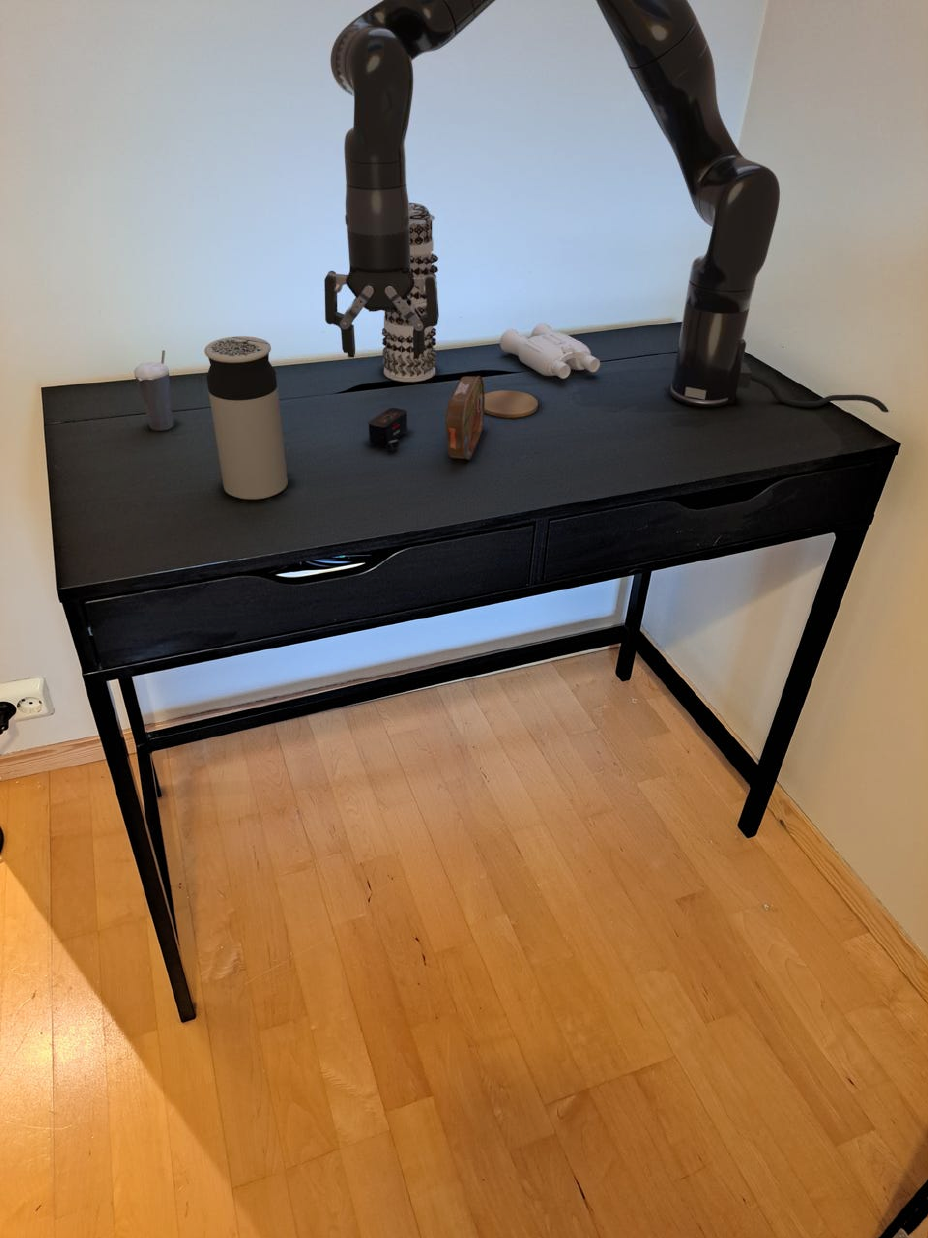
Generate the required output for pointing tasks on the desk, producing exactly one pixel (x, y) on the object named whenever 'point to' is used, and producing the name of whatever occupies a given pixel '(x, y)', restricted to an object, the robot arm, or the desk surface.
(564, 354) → the binoculars
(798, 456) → the desk surface
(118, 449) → the desk surface
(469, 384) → the tin
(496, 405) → the cork coaster
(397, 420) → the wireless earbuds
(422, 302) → the decorative candle
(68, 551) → the desk surface
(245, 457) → the travel mug
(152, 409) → the milkshake
